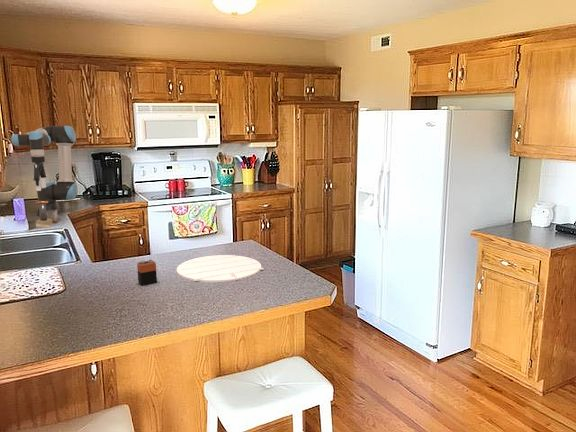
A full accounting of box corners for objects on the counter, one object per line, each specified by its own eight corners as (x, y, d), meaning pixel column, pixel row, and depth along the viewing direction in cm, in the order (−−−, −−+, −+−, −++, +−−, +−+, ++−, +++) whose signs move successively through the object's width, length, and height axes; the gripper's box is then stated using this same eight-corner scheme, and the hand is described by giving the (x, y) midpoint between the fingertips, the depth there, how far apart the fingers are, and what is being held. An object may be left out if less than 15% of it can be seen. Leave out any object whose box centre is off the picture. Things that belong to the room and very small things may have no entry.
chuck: (42, 220, 329) (41, 209, 327) (60, 219, 332) (59, 209, 330) (37, 224, 317) (36, 213, 316) (57, 223, 320) (56, 212, 319)
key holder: (39, 225, 314) (38, 219, 313) (52, 224, 316) (51, 218, 315) (36, 227, 306) (35, 221, 306) (49, 227, 308) (49, 221, 307)
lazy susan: (276, 274, 215) (276, 267, 214) (193, 289, 196) (193, 281, 195) (240, 253, 249) (240, 247, 248) (166, 264, 230) (166, 257, 229)
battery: (138, 283, 202) (136, 260, 200) (153, 280, 206) (152, 257, 204) (141, 286, 199) (140, 263, 197) (157, 282, 202) (156, 260, 200)
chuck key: (38, 225, 312) (36, 200, 309) (51, 224, 314) (49, 200, 311) (37, 226, 308) (34, 201, 305) (50, 225, 310) (47, 201, 307)
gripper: (36, 154, 313) (39, 186, 317) (25, 157, 289) (29, 192, 294) (48, 154, 315) (51, 186, 319) (39, 157, 291) (43, 191, 295)
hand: (41, 189), depth 306 cm, fingers open, 13 cm apart
